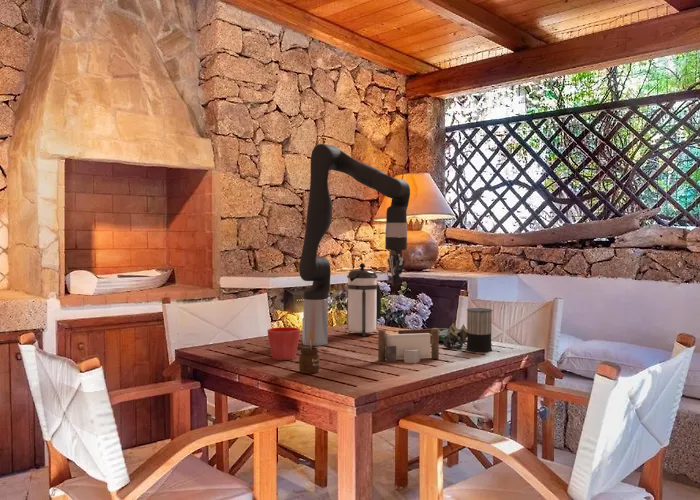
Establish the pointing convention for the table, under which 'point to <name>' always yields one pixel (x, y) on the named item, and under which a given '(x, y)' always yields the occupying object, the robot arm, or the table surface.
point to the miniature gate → (441, 332)
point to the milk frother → (475, 331)
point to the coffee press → (363, 301)
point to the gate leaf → (409, 343)
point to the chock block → (411, 355)
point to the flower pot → (283, 342)
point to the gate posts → (390, 351)
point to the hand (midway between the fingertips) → (395, 285)
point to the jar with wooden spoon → (309, 358)
